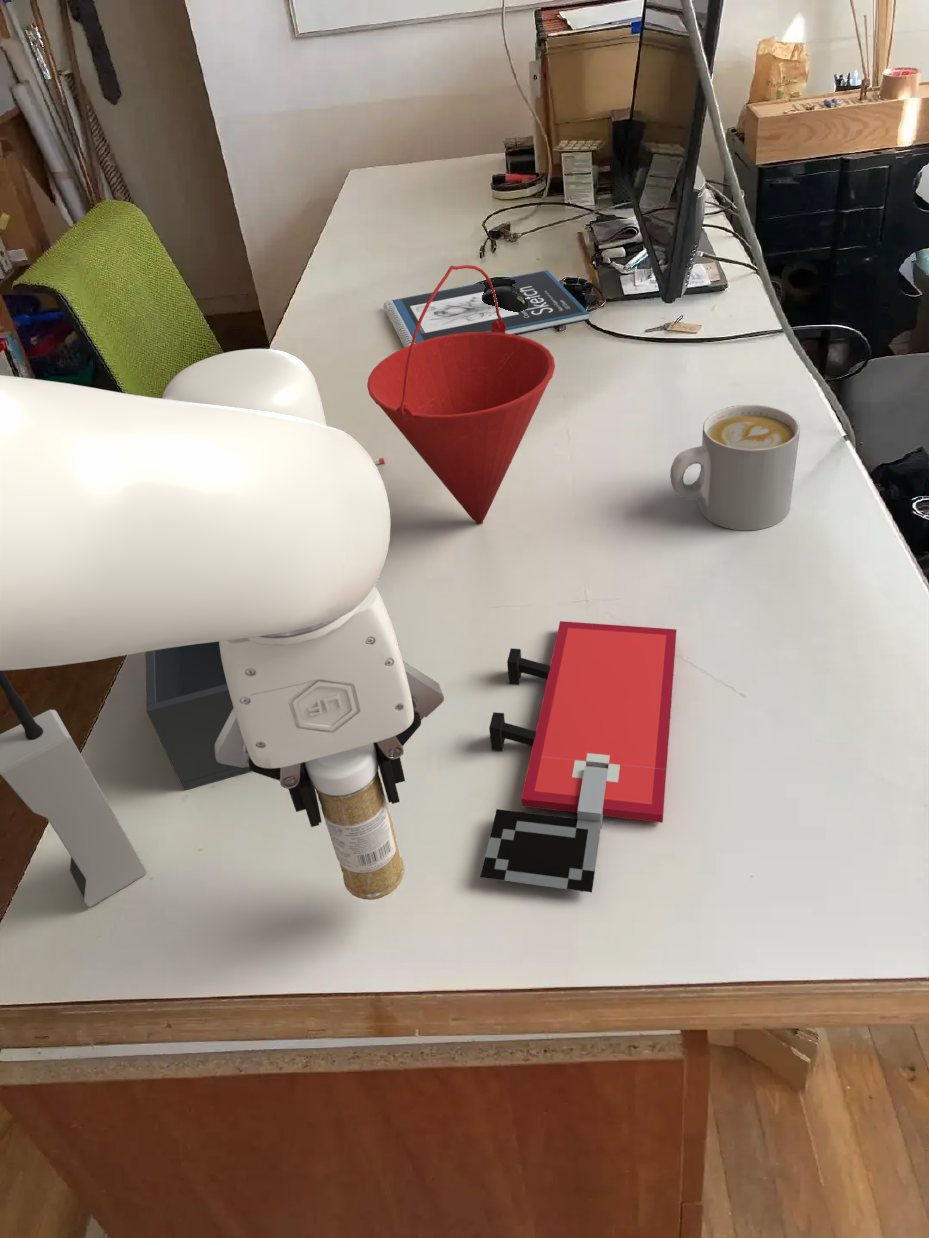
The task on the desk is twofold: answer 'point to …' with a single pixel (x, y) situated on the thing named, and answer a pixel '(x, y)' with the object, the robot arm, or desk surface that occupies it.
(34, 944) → the desk surface
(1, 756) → the vintage mobile phone
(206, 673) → the wastebin
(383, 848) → the sprinkles bottle
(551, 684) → the red board with handle
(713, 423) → the coffee mug
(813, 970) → the desk surface
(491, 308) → the sketchbook
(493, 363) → the fire bucket
